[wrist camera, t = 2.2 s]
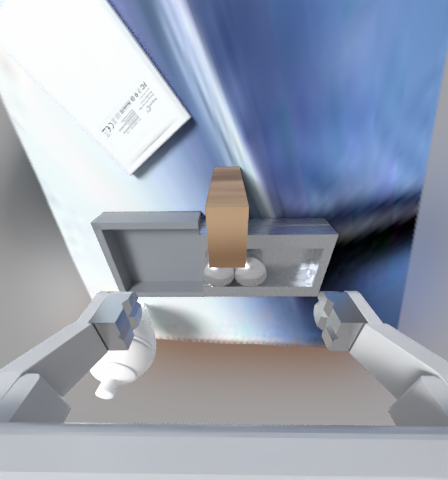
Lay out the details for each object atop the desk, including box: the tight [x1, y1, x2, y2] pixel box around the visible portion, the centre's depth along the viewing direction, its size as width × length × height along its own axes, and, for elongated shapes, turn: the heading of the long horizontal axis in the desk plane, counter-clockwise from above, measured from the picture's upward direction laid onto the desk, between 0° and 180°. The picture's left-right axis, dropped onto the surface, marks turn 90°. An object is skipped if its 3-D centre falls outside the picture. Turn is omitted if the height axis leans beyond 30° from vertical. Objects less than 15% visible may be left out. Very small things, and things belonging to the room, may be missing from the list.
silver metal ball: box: [235, 249, 267, 287], centre depth 23 cm, size 3×3×3 cm
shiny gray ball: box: [203, 252, 234, 287], centre depth 23 cm, size 3×3×3 cm
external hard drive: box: [0, 0, 191, 175], centre depth 16 cm, size 2×8×12 cm
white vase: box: [90, 303, 156, 399], centre depth 26 cm, size 8×8×12 cm
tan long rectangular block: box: [205, 167, 249, 268], centre depth 17 cm, size 4×2×10 cm, turn 1°
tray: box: [91, 211, 205, 297], centre depth 24 cm, size 11×11×3 cm
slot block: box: [198, 218, 339, 296], centre depth 24 cm, size 9×14×4 cm, turn 91°
